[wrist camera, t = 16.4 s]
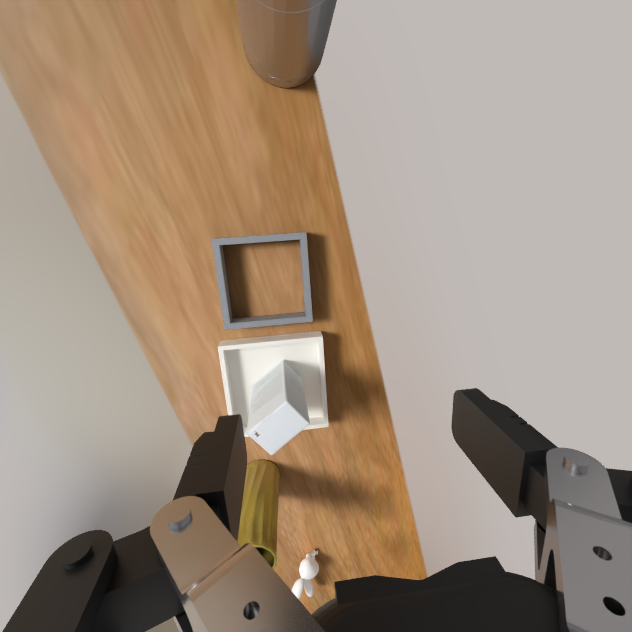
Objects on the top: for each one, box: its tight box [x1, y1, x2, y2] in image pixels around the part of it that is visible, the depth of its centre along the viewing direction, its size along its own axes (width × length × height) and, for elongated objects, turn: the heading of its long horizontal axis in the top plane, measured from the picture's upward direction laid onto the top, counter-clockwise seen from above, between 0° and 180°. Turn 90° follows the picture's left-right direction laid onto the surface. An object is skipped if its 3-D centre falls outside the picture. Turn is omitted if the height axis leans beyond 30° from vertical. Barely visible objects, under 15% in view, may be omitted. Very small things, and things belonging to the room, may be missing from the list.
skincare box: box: [246, 360, 310, 455], centre depth 42 cm, size 6×4×12 cm
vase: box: [237, 460, 280, 570], centre depth 46 cm, size 6×6×14 cm
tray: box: [218, 331, 329, 437], centre depth 47 cm, size 14×14×2 cm
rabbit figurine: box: [292, 550, 319, 599], centre depth 56 cm, size 6×4×8 cm
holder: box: [212, 232, 313, 330], centre depth 43 cm, size 12×12×2 cm
